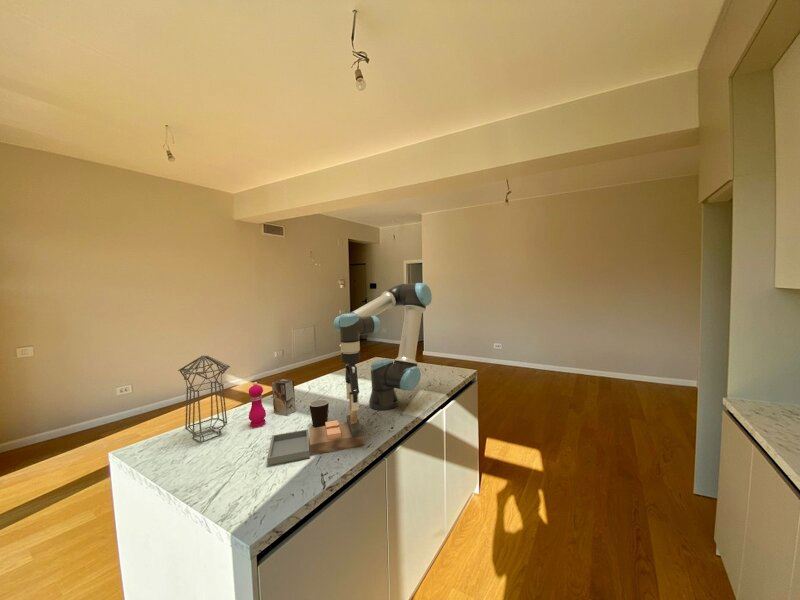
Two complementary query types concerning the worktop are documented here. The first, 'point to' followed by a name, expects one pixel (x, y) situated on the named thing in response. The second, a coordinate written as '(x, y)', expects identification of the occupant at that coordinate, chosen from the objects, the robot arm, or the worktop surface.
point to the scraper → (354, 422)
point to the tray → (288, 447)
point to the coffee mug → (319, 412)
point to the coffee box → (283, 396)
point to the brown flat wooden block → (332, 440)
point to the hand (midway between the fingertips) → (352, 404)
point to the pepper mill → (256, 406)
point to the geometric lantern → (202, 390)
